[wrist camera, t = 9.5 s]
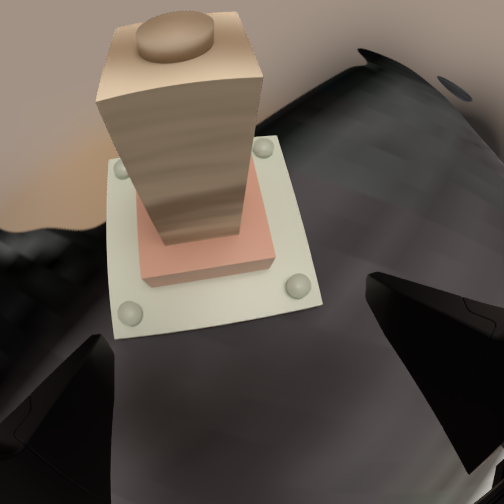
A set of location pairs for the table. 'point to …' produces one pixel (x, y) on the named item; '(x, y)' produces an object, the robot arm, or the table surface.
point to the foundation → (209, 258)
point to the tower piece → (184, 119)
